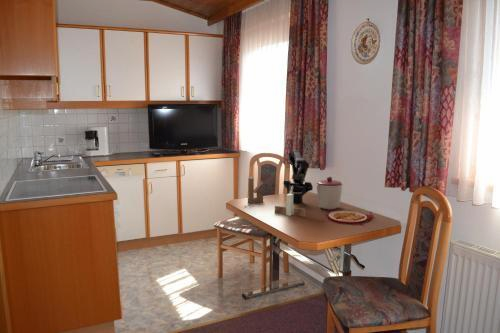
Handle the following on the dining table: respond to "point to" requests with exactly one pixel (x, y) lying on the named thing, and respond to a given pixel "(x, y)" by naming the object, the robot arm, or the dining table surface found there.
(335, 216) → the plate with food
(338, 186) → the canister
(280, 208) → the walnut slotted plate
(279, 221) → the dining table surface
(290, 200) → the sage plank
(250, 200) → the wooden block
